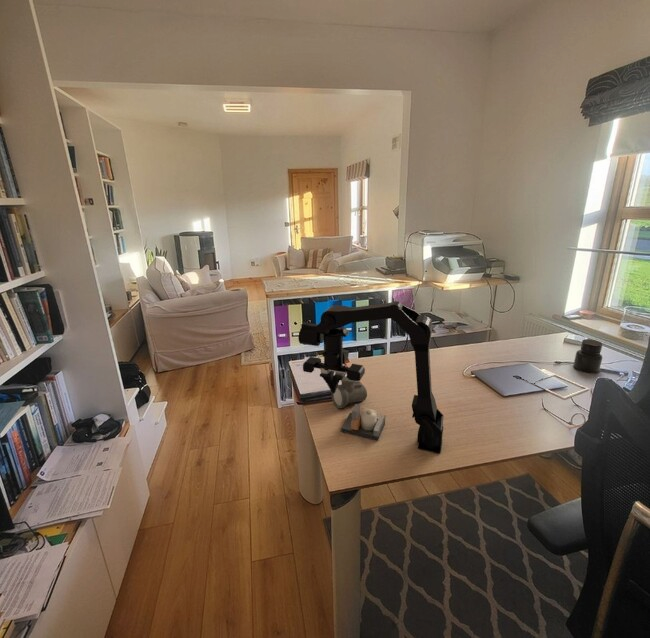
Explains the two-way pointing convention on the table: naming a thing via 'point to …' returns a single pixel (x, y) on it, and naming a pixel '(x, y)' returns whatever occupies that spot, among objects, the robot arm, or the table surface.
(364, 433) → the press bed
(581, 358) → the ink bottle
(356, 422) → the tan and grey slab
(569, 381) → the photo frame
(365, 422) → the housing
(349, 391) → the pipe fitting
